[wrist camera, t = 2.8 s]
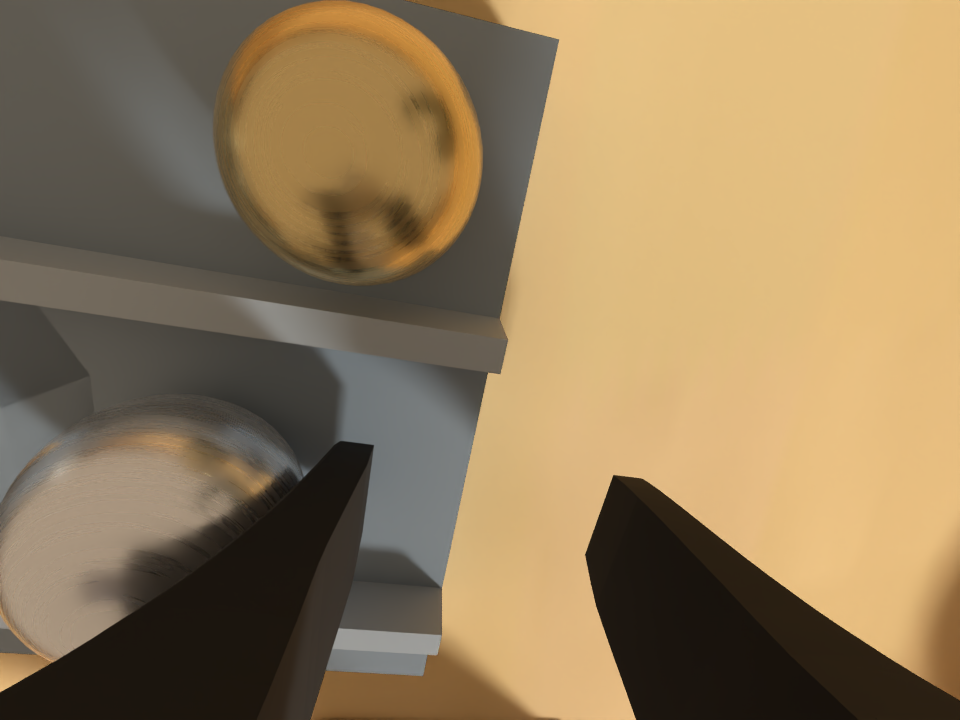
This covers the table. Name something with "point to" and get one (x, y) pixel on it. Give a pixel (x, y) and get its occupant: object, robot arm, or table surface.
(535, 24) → the table surface
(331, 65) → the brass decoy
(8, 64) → the grey divided tray
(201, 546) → the steel ball
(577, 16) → the table surface
